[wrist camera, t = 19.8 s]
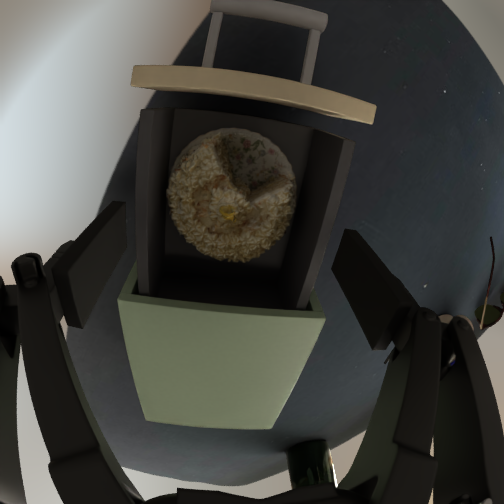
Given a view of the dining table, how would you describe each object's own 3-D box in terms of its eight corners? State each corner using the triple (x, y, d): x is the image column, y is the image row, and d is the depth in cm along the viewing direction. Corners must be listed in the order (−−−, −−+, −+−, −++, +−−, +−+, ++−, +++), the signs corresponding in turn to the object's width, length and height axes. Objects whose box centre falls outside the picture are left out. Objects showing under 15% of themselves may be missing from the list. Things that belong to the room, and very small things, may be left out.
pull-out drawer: (176, 12, 15) (154, -23, 8) (345, 41, 17) (390, 23, 10) (151, 270, 26) (132, 323, 20) (288, 284, 28) (304, 338, 21)
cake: (266, 259, 25) (268, 301, 20) (157, 223, 23) (136, 258, 18) (318, 157, 20) (337, 180, 15) (191, 109, 18) (170, 116, 13)
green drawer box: (147, 237, 25) (116, 299, 17) (299, 254, 27) (326, 318, 19) (155, 362, 34) (145, 420, 26) (263, 371, 36) (271, 429, 28)
